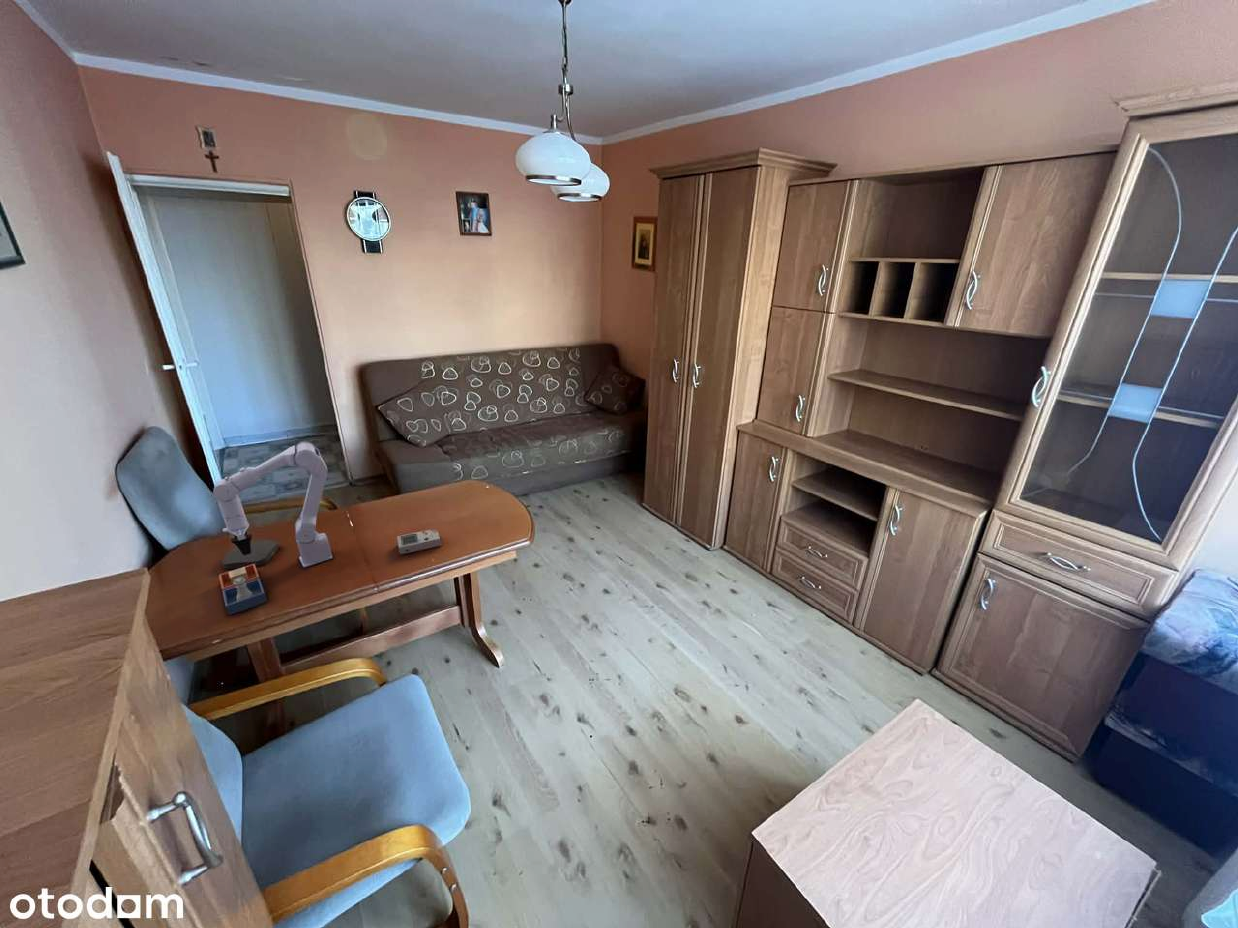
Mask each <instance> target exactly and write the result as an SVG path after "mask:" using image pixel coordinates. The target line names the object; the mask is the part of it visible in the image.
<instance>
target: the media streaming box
mask: <svg viewBox="0 0 1238 928" xmlns="http://www.w3.org/2000/svg"><path fill="white" fill-rule="evenodd" d="M250 545H251V554H247V555H243V554H242V553H241V551H240V550H239V548H238V547H237V546H236V545H235V546H234V547H233V548H231V549H230V550H229V551H228V552H227V553H226V554H225V555H224V557H223V558H222V560H221V564H222V566H223V568H224V569H239V568H242V567H245V566H249V565H252V564H255V566H256V567H259V566H262V565H264V564H265V563H267V562H268V561H270V559H272V557H273V556H274V554H275V553H276V552H277V551H278V549H279V545H278V542H277V541H276V540H269V539H265V540H264V539H263V540H262V539H261V540H251V543H250Z"/></svg>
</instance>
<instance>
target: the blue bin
mask: <svg viewBox="0 0 1238 928" xmlns="http://www.w3.org/2000/svg"><path fill="white" fill-rule="evenodd" d="M246 587H247V588H248V590H250V591H251V592H252V593H253V595H254V596H251V597H248V598H246V599H243V600H240V601H237V594H238V591H237V588H236V587H235V586H234V587H231V588H228V589H225V590H222V589H221V592H222V598H223V600H224V605H225V609H226V611H227V613H228V616H231V615H234V614H237V613H239V612H242V611H245V610H248V609H250V608H251V609H252V608H254V607H256V606H259V605H262V604H264V603H268V601H269V600H268V599H267V595H266V593H265V589H264V586H263V584H262V581H261V578H260V577H259V579H256V580H253V581H250V582H247V583H246Z"/></svg>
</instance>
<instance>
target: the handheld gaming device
mask: <svg viewBox="0 0 1238 928" xmlns="http://www.w3.org/2000/svg"><path fill="white" fill-rule="evenodd" d="M396 539H397V546H398V551H399V554H400V555H405V554H410V553H414V552H418V551H423V550H427V549H432V548H437V547H440V546H442V542H441V538H440V533H439V531H438V530H435V529H428V530H422V531H417V532H412V533H407V534H402V535H398V536H396Z"/></svg>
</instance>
